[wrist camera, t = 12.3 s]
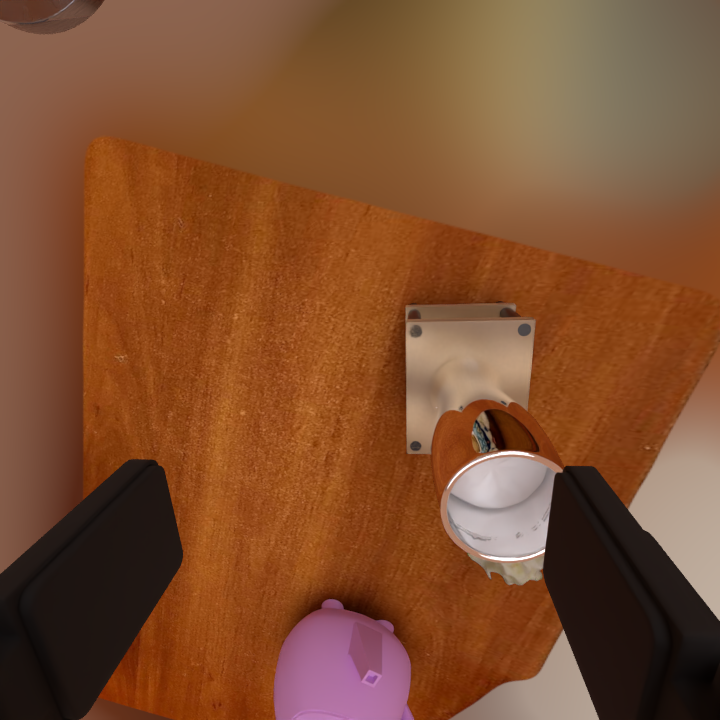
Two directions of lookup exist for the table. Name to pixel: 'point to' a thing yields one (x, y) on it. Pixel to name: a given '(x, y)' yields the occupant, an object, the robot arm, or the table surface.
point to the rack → (462, 355)
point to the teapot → (342, 669)
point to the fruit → (513, 569)
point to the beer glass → (489, 465)
